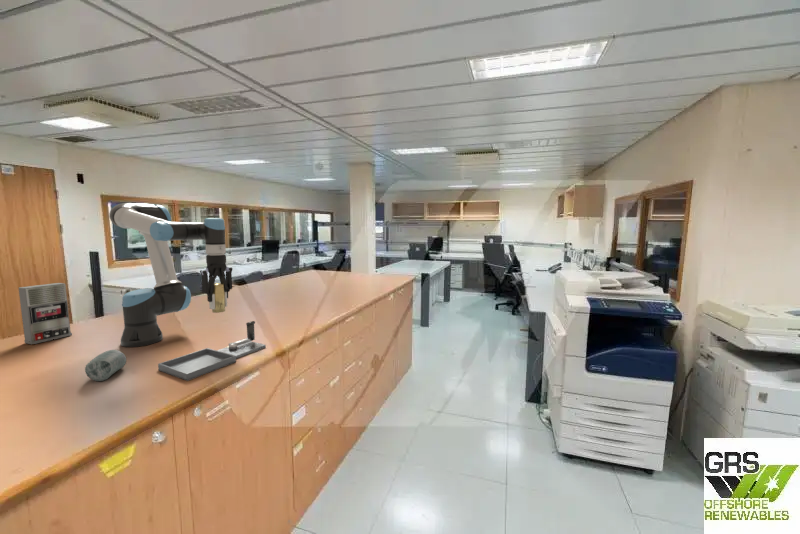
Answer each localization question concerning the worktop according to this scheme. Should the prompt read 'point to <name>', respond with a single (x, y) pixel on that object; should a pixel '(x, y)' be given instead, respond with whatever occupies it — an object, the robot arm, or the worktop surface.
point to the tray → (196, 363)
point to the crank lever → (249, 336)
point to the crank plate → (243, 349)
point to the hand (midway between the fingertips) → (218, 307)
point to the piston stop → (219, 298)
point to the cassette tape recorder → (44, 312)
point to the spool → (105, 365)
